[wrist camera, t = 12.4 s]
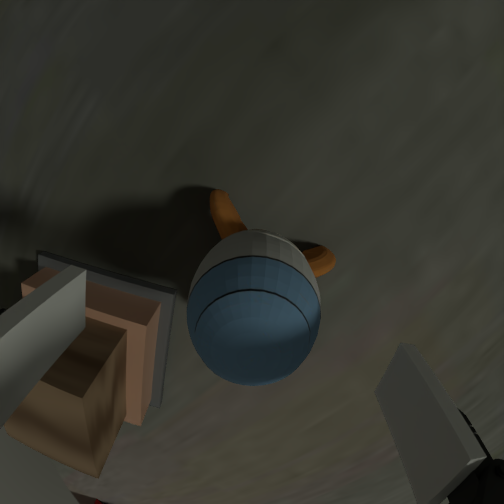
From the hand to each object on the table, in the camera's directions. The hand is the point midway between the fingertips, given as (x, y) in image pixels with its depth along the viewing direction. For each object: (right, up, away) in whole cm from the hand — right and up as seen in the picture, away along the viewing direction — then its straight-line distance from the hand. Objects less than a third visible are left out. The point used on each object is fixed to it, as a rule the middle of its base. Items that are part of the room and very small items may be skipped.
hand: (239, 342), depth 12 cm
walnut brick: (-14, -6, +12) cm, 20 cm away
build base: (-14, -5, +17) cm, 22 cm away
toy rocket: (0, +5, +14) cm, 14 cm away
